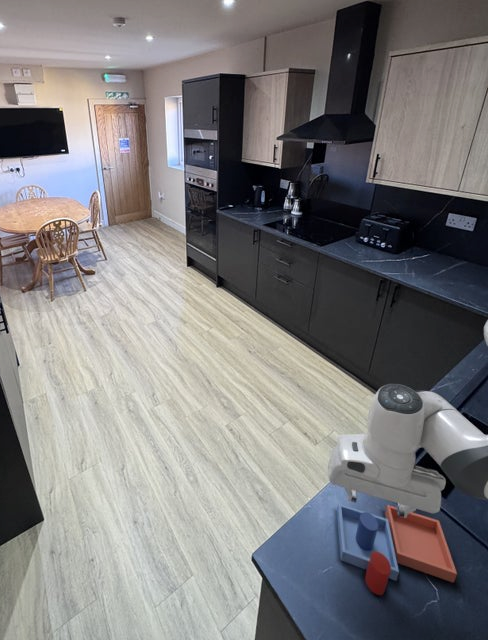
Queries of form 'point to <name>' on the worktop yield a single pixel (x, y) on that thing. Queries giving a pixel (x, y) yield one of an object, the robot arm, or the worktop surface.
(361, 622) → the worktop surface
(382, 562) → the red peg
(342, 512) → the blue bin
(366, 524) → the blue peg
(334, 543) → the worktop surface
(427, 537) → the red bin
